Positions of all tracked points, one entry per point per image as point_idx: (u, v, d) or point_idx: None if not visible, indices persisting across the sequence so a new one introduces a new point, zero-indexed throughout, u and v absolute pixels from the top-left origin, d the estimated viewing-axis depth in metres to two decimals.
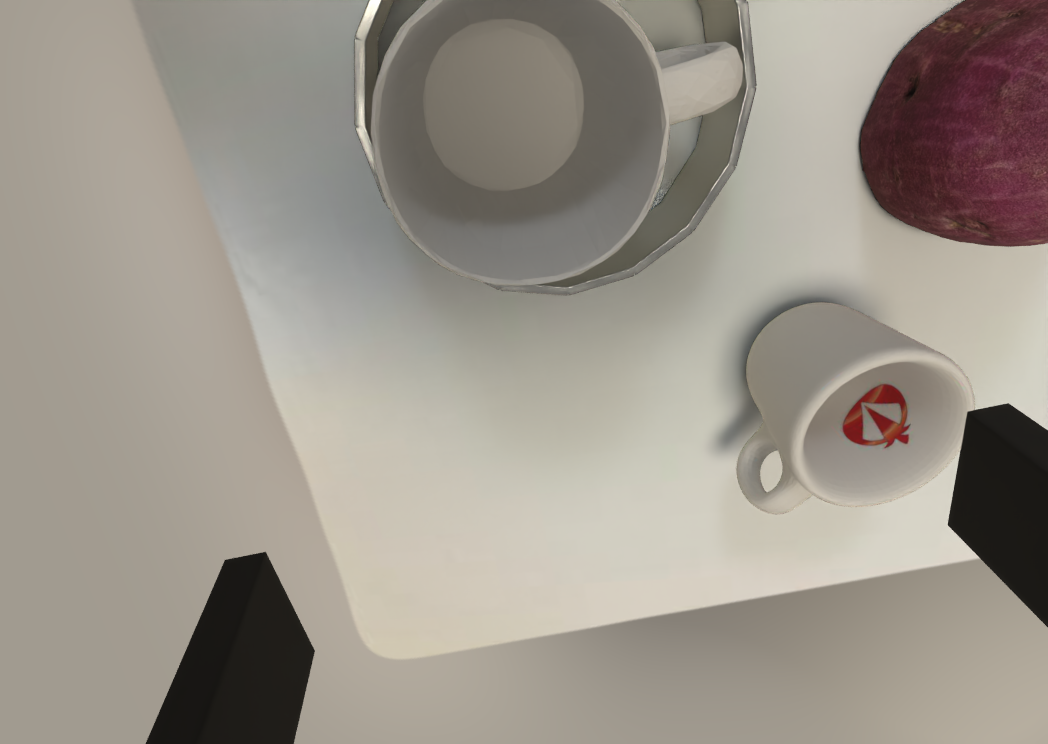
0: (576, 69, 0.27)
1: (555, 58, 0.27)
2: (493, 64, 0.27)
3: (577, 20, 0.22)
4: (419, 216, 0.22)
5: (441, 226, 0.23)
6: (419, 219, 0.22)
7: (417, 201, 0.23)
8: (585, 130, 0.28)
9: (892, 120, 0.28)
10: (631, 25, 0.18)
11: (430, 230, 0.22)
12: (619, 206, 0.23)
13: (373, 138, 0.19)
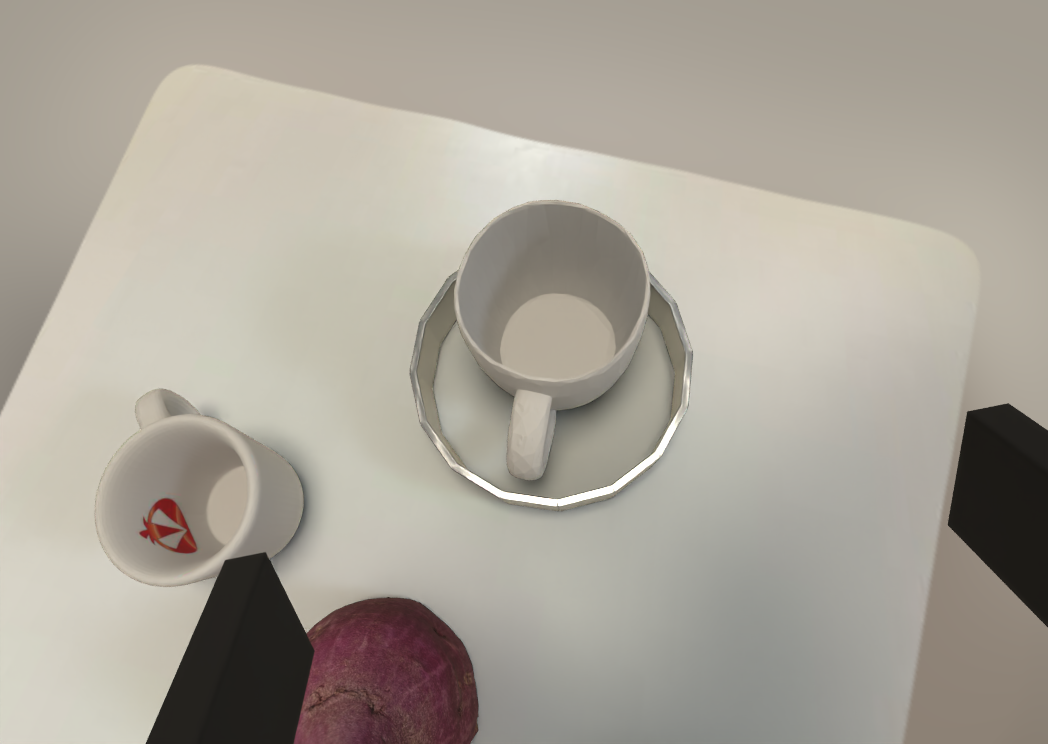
0: None
1: None
2: (587, 352, 0.38)
3: None
4: (533, 227, 0.33)
5: (517, 243, 0.34)
6: (532, 224, 0.32)
7: (539, 237, 0.34)
8: None
9: (422, 613, 0.34)
10: (588, 372, 0.28)
11: (522, 228, 0.32)
12: None
13: (593, 209, 0.30)
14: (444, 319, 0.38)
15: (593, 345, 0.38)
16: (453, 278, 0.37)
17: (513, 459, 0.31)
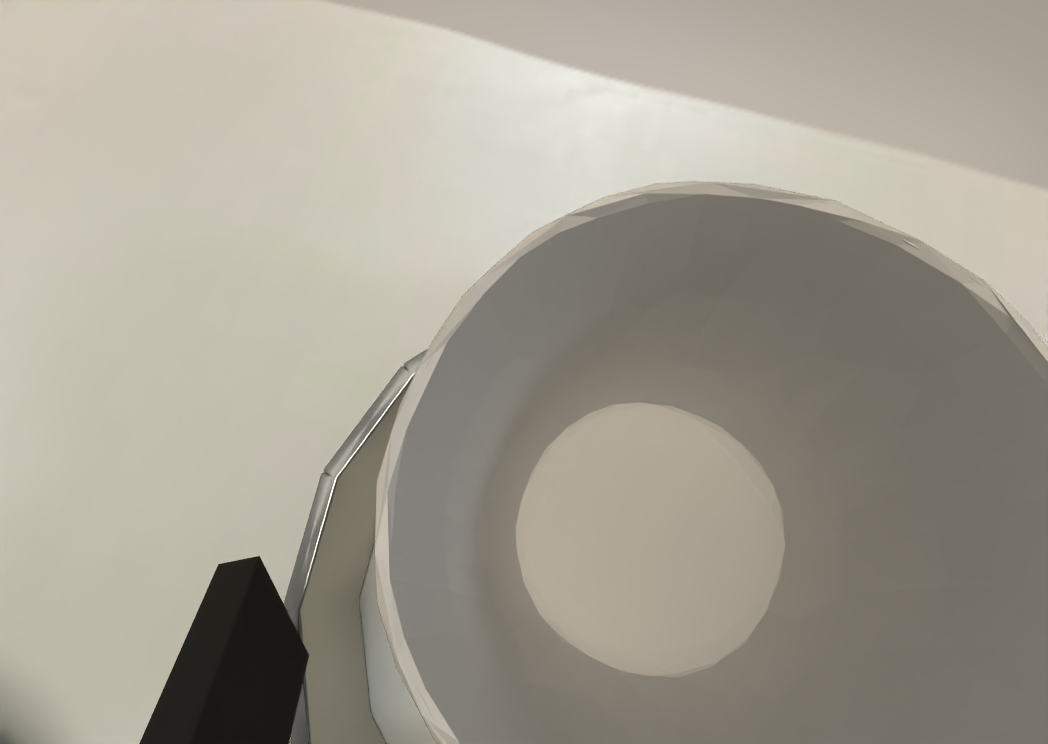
0: (652, 674, 0.16)
1: (682, 648, 0.16)
2: (716, 549, 0.17)
3: (785, 728, 0.12)
4: (643, 263, 0.11)
5: (589, 304, 0.12)
6: (642, 256, 0.11)
7: (651, 289, 0.12)
8: (557, 642, 0.16)
9: None
10: None
11: (612, 264, 0.11)
12: (452, 652, 0.10)
13: (881, 223, 0.09)
14: None
15: (731, 534, 0.17)
16: (414, 368, 0.15)
17: None
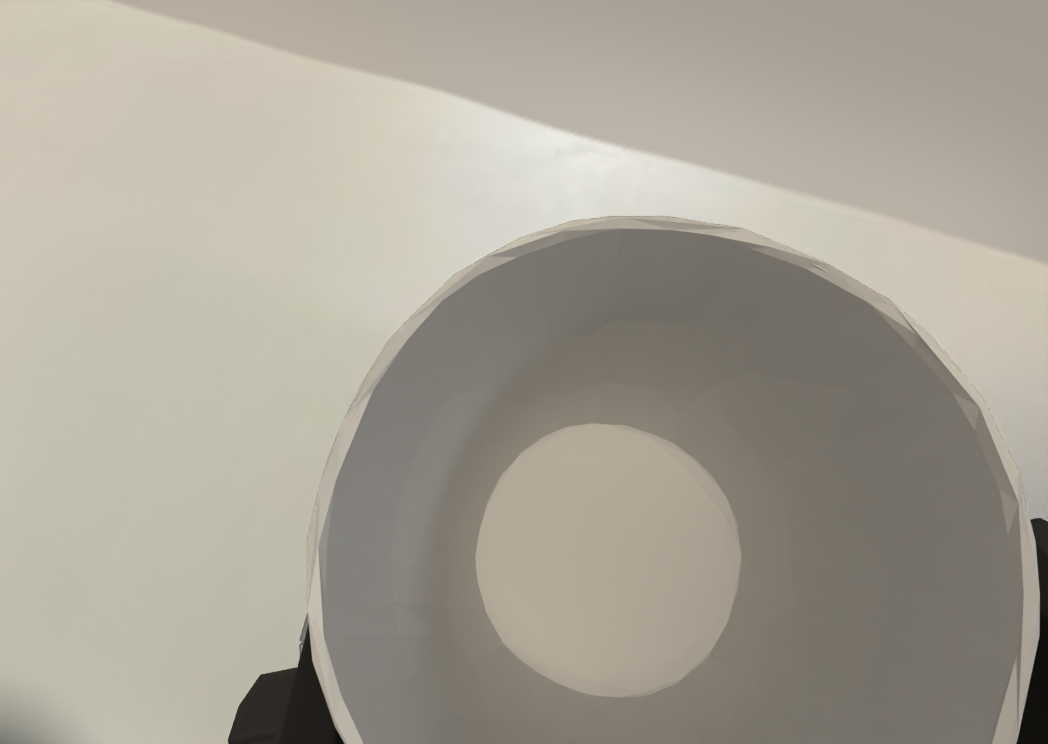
0: (618, 695, 0.16)
1: (647, 667, 0.16)
2: (675, 565, 0.17)
3: (744, 743, 0.12)
4: (572, 294, 0.11)
5: (524, 336, 0.12)
6: (570, 288, 0.11)
7: (585, 318, 0.12)
8: (523, 671, 0.16)
9: None
10: None
11: (541, 298, 0.11)
12: (401, 699, 0.10)
13: (790, 248, 0.09)
14: None
15: (689, 548, 0.17)
16: None
17: None
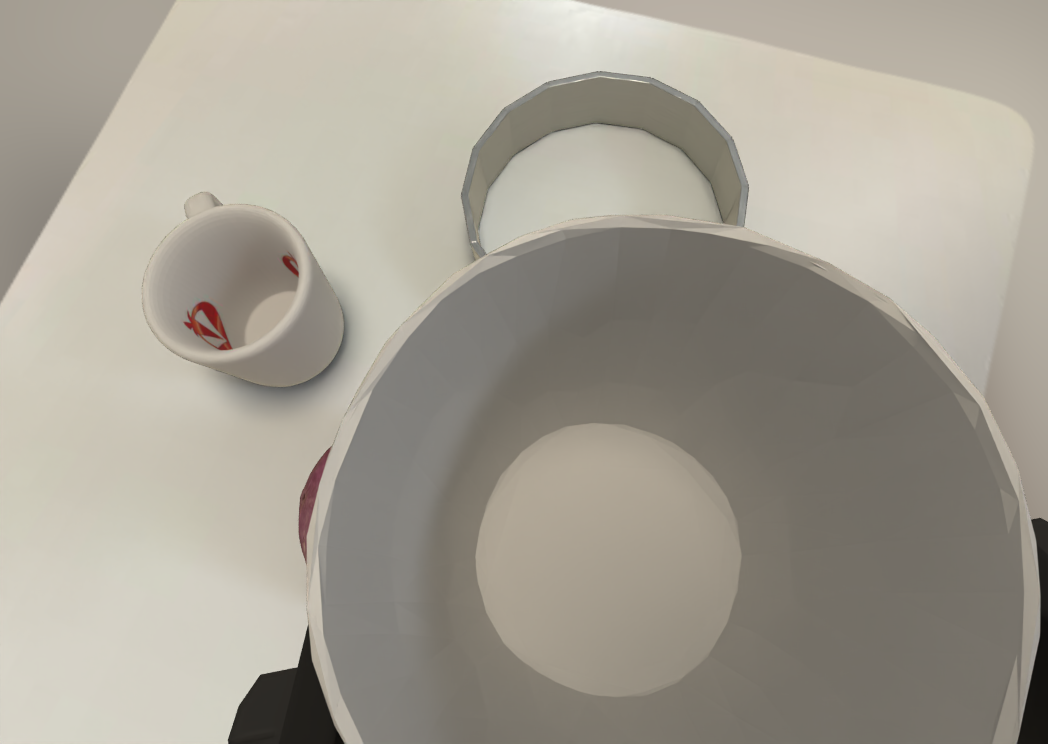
0: (618, 695, 0.16)
1: (647, 666, 0.16)
2: (675, 564, 0.17)
3: (744, 743, 0.12)
4: (572, 294, 0.11)
5: (524, 335, 0.12)
6: (570, 287, 0.11)
7: (585, 317, 0.12)
8: (523, 670, 0.16)
9: None
10: None
11: (541, 297, 0.11)
12: (401, 698, 0.10)
13: (790, 247, 0.09)
14: (495, 157, 0.38)
15: (689, 548, 0.17)
16: (508, 109, 0.36)
17: None
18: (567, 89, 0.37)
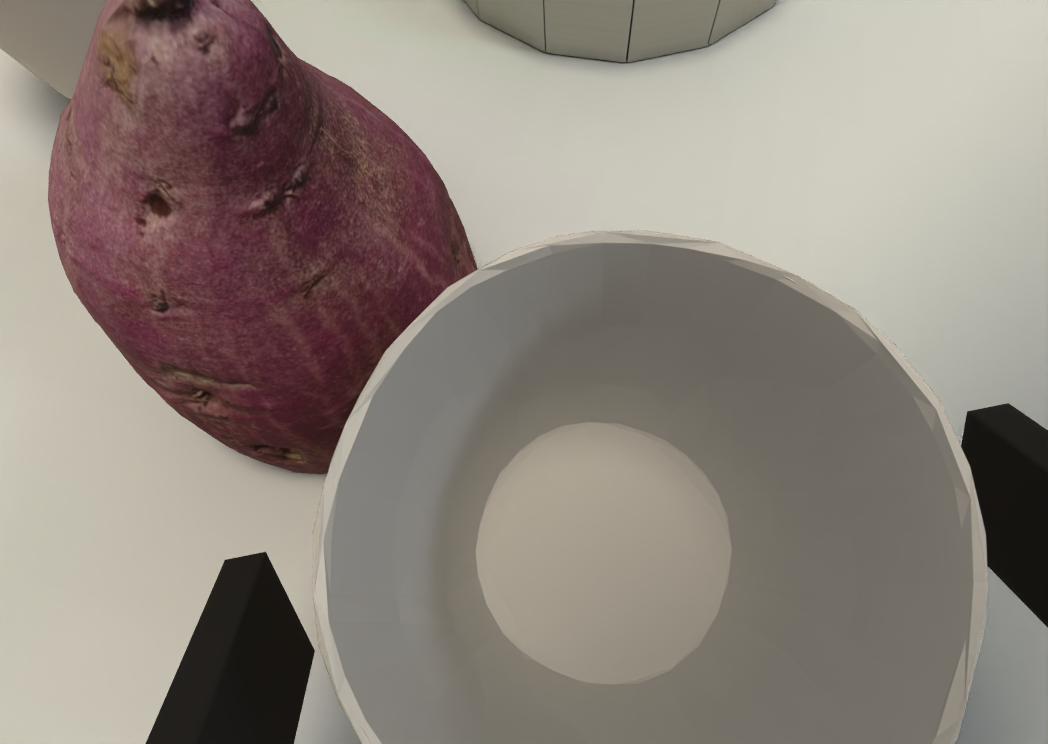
0: (613, 682, 0.17)
1: (640, 655, 0.17)
2: (668, 558, 0.17)
3: (727, 726, 0.13)
4: (561, 302, 0.12)
5: (518, 341, 0.13)
6: (559, 297, 0.12)
7: (575, 323, 0.13)
8: (521, 659, 0.17)
9: None
10: None
11: (532, 306, 0.12)
12: (402, 681, 0.10)
13: None
14: None
15: (681, 542, 0.17)
16: None
17: None
18: None
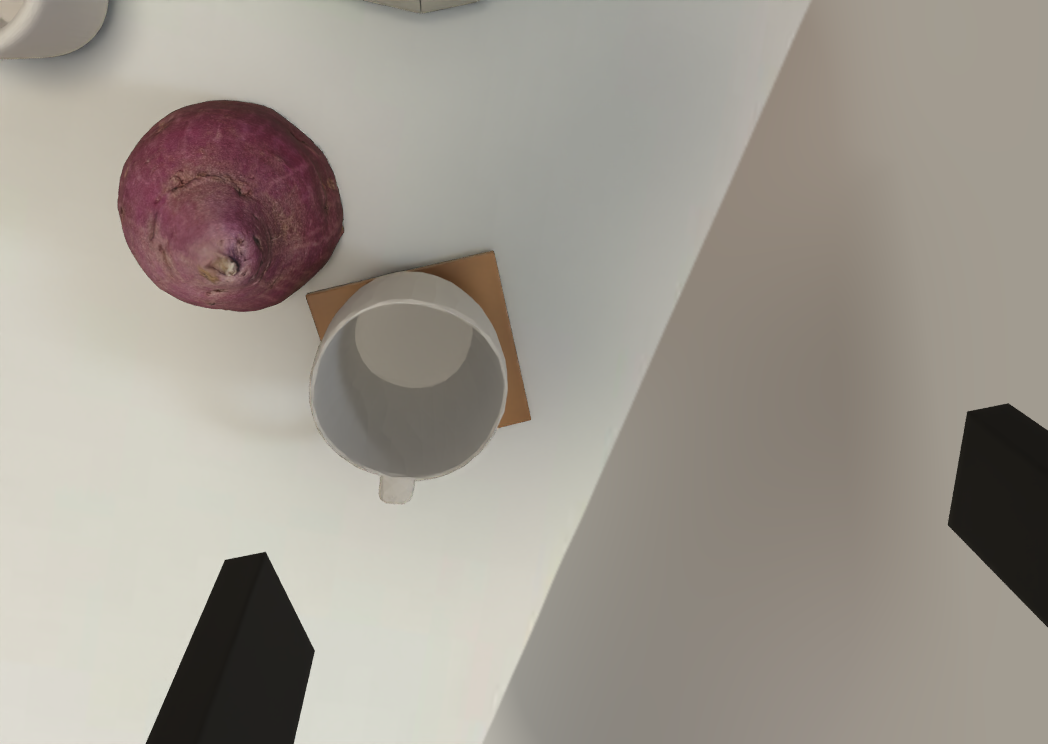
0: (421, 387, 0.39)
1: (432, 376, 0.39)
2: (444, 337, 0.39)
3: (455, 414, 0.36)
4: None
5: None
6: None
7: None
8: (380, 382, 0.39)
9: (276, 116, 0.33)
10: (451, 470, 0.31)
11: None
12: (340, 424, 0.32)
13: (450, 310, 0.29)
14: None
15: (450, 330, 0.38)
16: None
17: (385, 501, 0.35)
18: None
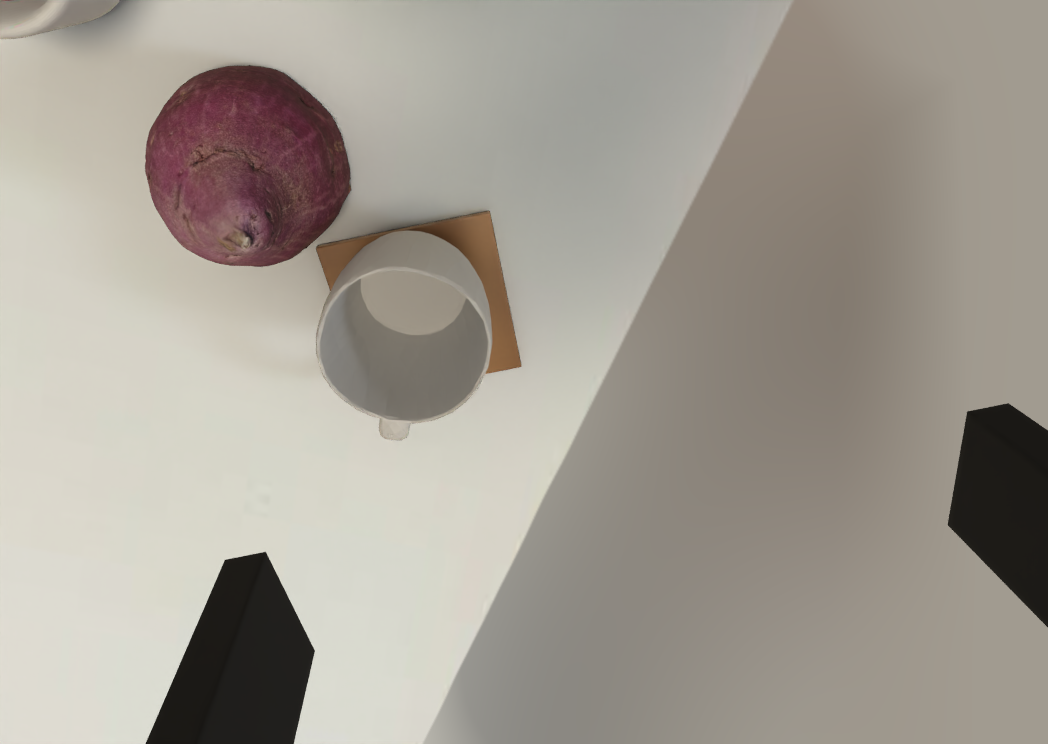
0: (420, 334, 0.43)
1: (431, 324, 0.43)
2: (442, 290, 0.42)
3: (448, 363, 0.40)
4: None
5: None
6: None
7: None
8: (383, 329, 0.42)
9: (287, 83, 0.35)
10: (440, 415, 0.36)
11: None
12: (344, 371, 0.36)
13: (440, 277, 0.32)
14: None
15: (448, 284, 0.42)
16: None
17: (385, 437, 0.40)
18: None
